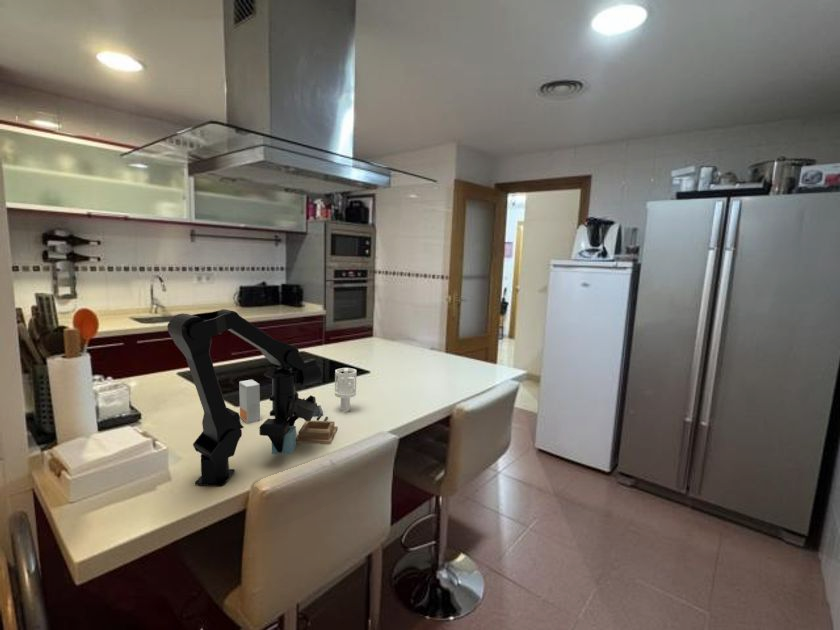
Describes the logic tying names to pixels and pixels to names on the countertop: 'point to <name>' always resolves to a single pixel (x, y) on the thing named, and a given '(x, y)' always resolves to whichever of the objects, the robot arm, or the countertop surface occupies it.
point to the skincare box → (249, 400)
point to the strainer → (345, 386)
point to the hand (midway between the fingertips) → (283, 446)
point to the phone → (318, 411)
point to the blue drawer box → (287, 442)
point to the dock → (317, 432)
